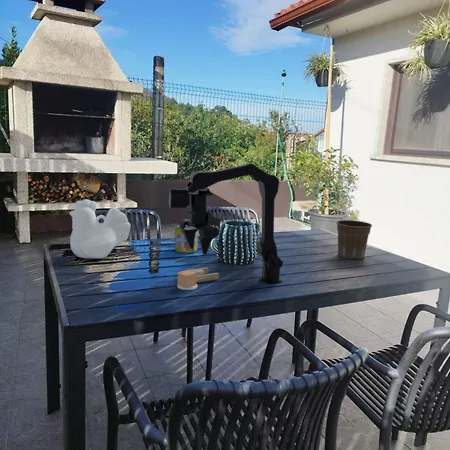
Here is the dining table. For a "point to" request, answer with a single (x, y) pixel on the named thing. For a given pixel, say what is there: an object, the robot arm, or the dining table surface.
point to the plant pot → (352, 238)
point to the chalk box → (184, 242)
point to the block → (186, 279)
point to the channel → (206, 276)
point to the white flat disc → (187, 288)
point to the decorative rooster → (96, 230)
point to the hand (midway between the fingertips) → (198, 251)
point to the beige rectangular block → (197, 271)
